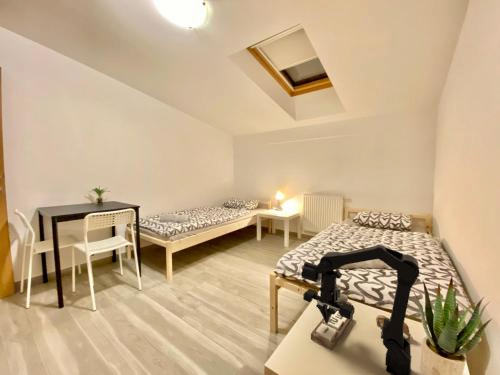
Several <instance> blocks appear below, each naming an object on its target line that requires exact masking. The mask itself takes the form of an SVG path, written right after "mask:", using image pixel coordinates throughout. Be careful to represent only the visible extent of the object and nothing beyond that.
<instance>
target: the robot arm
mask: <svg viewBox="0 0 500 375" xmlns="http://www.w3.org/2000/svg"><path fill="white" fill-rule="evenodd" d="M375 260H379V261H381V262H383V263H384V264H385V265H387V266H389V268H391V269H392V270H395V271H396V278H397V279H396V280H397V283H396V288H395V293H394V298H393V303H392V309H391V314H390V316H389V320H387V319H385V318H384V323H383V327H382V329H381V331H382V332H381V331H380V339H382V345H383V346H384V347H385V348H386V352H385V358H384V359H385V363H384V365H385V366H386V367H385V371H386V372H387V373H388V374H390V375H411V374H412V355H411V354H412V352H411V343H410V342H409V340H407V339H406V337H405V336H404V333H403V325H404V322H405V318H406V313H407V310H408V309H407V308H408V304H409V300H410V295H411V291H412V288H413V286H414V285H415V284H416V281H417V279H418V277H419V276H420V275H419V274H420V264H419V262H418V260H417V259H416V258H415V257H414V256H413V255H411V254H403V253H402V252H400V251H398V250H394V249H391V248H390V247H389V248H388V247H386V246H384V245H382V244H377V245H374V246H369V247H365V248H359V249H356V250H349V251H343V252H341V251H340V252H339V251H327V252H326V253H324V255H322V257H321V258H320V259H319V262H318V264H314V263H310V262H307V261H304V263H303V266H302V270H301V272H300V273H301V278H302V279H304V280H307V281H310V282H314V283H317V282H318V281H320V287H319V288H318V289H319V290H314V289H311V288H308V289H307V290H306V291H305V292H304V293H303V296H302V299H303V301H306V302H308V303H311V302H313V300H315V301H316V306H315V307H316V309H318V310H319V312H320V314H321V316H322V319H323V318H324V321H325V323H327V324H328V322H329V320H330V318H331V315H332V314H335V313H336V312H337V310H339V314H340V315H341V316H342V317H344V318H347V319H351V317H352V315H353V316H354V314H355V306H354V305H353V304H351V303H348V302H347V303H346V302H341V303H342V304H340V302H336V301H337V300H338V297H339V298H340V293H342V290H341V288H338V287H337V279H341V278H342V277H343V273H342V272H340V271H339V269H340V268H342V267H344V266H346V265H352V264H357V263H362V262H369V261H375ZM318 291H319V292H320V293H319V292H318ZM319 294H320V295H319ZM335 300H336V301H335Z"/></svg>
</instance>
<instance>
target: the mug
mask: <svg viewBox="0 0 500 375" xmlns="http://www.w3.org/2000/svg"><path fill="white" fill-rule="evenodd" d="M335 301H336V300H335ZM348 301H349V298H348V296H347V295H346V294H344V293H342V292H340V298H339V297H338V300H337V301H336V302H339V303H343V302H346V303H348Z"/></svg>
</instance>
